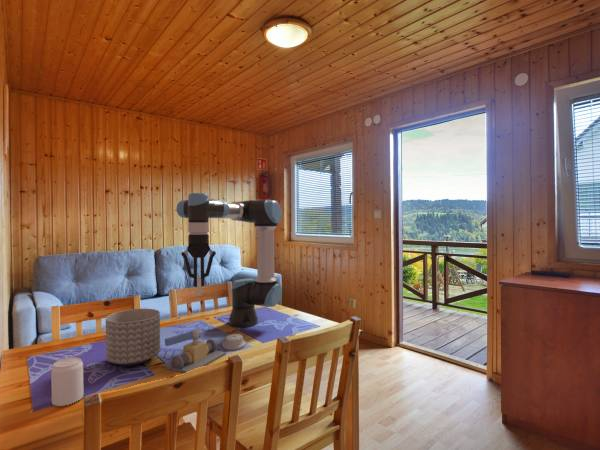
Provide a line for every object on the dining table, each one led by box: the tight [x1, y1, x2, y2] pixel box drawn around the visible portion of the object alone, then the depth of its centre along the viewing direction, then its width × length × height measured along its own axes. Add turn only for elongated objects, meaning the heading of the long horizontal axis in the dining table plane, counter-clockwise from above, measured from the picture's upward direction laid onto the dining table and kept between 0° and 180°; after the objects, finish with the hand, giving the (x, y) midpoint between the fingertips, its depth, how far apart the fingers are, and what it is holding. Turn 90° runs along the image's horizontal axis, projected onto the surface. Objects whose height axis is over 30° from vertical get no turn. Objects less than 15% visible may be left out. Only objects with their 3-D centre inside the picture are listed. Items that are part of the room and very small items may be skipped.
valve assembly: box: [161, 338, 227, 374], centre depth 137 cm, size 20×14×9 cm
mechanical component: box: [222, 333, 247, 351], centre depth 152 cm, size 10×4×10 cm
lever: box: [164, 329, 200, 347], centre depth 133 cm, size 14×3×2 cm, turn 138°
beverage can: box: [50, 356, 84, 407], centre depth 107 cm, size 8×8×12 cm
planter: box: [105, 308, 161, 366], centre depth 136 cm, size 19×19×18 cm
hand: (199, 294), depth 134 cm, fingers closed
